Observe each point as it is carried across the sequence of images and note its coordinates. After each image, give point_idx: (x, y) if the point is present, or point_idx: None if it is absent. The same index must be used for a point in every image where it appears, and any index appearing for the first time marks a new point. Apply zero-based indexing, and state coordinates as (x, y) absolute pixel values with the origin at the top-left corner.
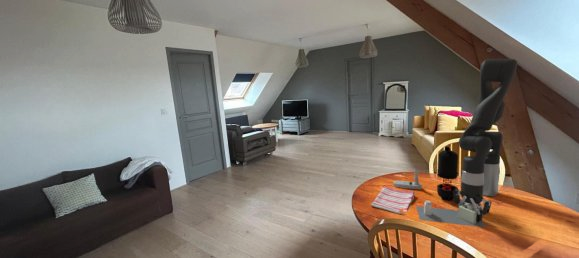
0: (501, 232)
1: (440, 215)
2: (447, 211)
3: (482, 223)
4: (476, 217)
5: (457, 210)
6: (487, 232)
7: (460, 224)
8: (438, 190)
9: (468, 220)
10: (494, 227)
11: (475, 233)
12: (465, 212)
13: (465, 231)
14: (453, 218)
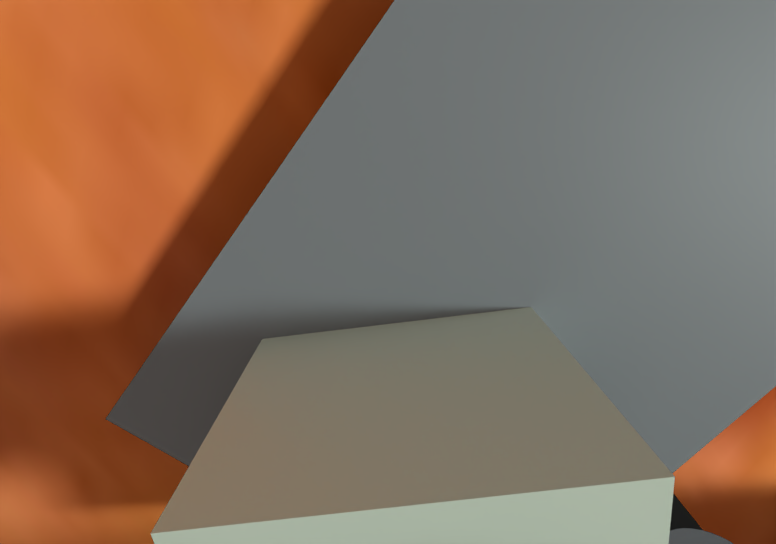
0: (68, 503)
1: (771, 20)
2: (758, 304)
3: None
4: None
5: None
6: (106, 362)
7: (327, 102)
8: None
9: (343, 339)
10: None
11: (124, 182)
12: (414, 421)
13: (216, 80)
14: (541, 178)
